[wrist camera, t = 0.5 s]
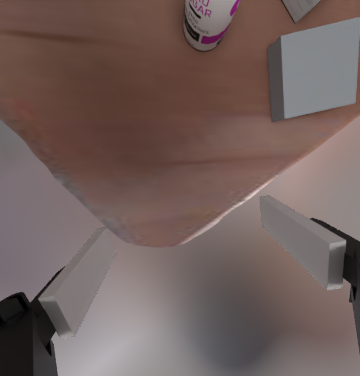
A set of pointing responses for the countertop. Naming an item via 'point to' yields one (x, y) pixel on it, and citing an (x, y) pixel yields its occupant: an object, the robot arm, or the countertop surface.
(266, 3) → the countertop surface
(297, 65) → the slate riser block
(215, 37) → the supplement can
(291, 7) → the supplement box
